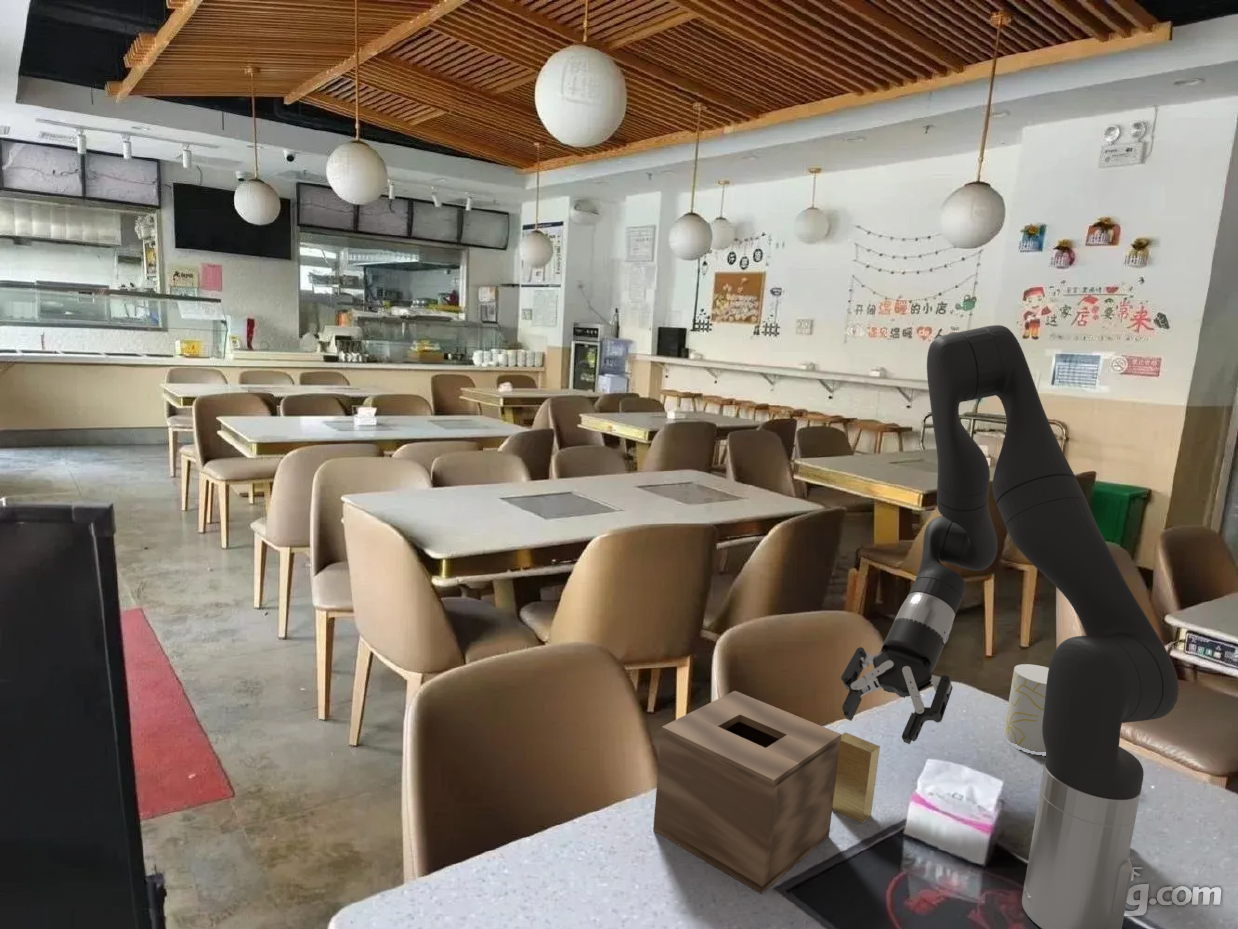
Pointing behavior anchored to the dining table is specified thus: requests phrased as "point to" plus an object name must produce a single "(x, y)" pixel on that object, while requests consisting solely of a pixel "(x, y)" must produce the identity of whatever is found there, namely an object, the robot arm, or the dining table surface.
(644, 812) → the dining table surface
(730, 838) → the box
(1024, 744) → the cup
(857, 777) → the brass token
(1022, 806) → the dining table surface
